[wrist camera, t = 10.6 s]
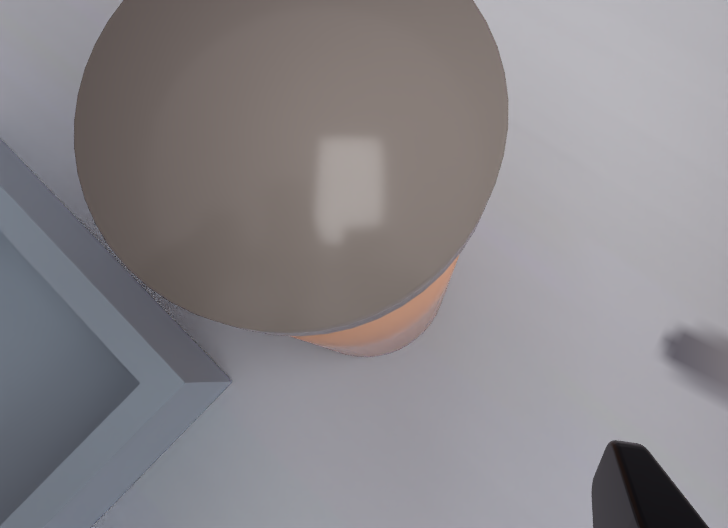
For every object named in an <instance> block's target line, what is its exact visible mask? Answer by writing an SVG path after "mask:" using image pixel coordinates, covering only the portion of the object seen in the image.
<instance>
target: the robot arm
mask: <svg viewBox="0 0 728 528" xmlns="http://www.w3.org/2000/svg"><path fill="white" fill-rule="evenodd" d="M592 512H593V528H709V527H708V526H707V525H706V523H705V522H704V521H703V519H702V518H701V517H700V516H699V514H698V513H697V512H696V511H695V509H694V508H693V507H692V505H691V504H690V503H689V502H688V500H687V499H686V498H685V497H684V495H683V494H682V493H681V491H680V490H679V489H678V488H677V486H676V485H675V484H674V483H673V481H672V480H671V479H670V477H669V476H668V475H667V474H666V472H665V471H664V470H663V469H662V467H661V466H660V465H659V463H658V462H657V461H656V460H655V458H654V457H653V456H652V455H651V453H650V452H649V451H648V450H647V449H646V448H645V447H644V446H643V445H641V444H637V443H631V442H624V441H617V440H614V441H611V442H610V443H608V445H607V447H606V449H605V451H604V454H603V456H602V458H601V461H600V463H599V466H598V468H597V471H596V473H595V476H594V478H593V483H592Z"/></svg>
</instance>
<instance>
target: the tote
mask: <svg viewBox="0 0 728 528" xmlns="http://www.w3.org/2000/svg"><path fill="white" fill-rule="evenodd" d="M231 383H232V380H231V379H230V378H229V377H228V376H227V375H226V374H225V373H224V372H223V371H222V370H221V369H220V368H219V367H218V366H217V365H216V364H215V363H214V362H213V361H212V360H211V358H210V357H209V356H208V355H207V354H206V353H205V352H204V351H203V350H202V349H201V348H200V347H199V346H198V345H197V344H196V343H195V342H194V341H193V340H192V339H191V338H190V337H189V335H188V334H187V333H186V332H185V331H184V330H183V329H182V328H181V327H180V326H179V325H178V324H177V323H176V322H175V321H174V320H173V319H172V318H171V317H170V316H169V315H168V313H167V312H166V311H165V310H164V309H163V308H162V307H161V306H160V305H159V304H158V303H157V302H156V301H155V300H154V299H153V298H152V297H151V296H150V295H149V294H148V293H147V292H146V290H145V289H144V288H143V287H142V286H141V285H140V284H139V283H138V282H137V281H136V280H135V279H134V278H133V277H132V276H131V275H130V274H129V273H128V272H127V271H126V270H125V269H124V267H123V266H122V265H121V264H120V263H119V262H118V261H117V260H116V259H115V258H114V257H113V256H112V255H111V254H110V253H109V252H108V251H107V250H106V249H105V248H104V247H103V245H102V244H101V243H100V242H99V241H98V240H97V239H96V238H95V237H94V236H93V235H92V234H91V233H90V232H89V231H88V230H87V229H86V228H85V227H84V226H83V225H82V224H81V222H80V221H79V220H78V219H77V218H76V217H75V216H74V215H73V214H72V213H71V212H70V211H69V210H68V209H67V208H66V207H65V206H64V205H63V204H62V203H61V202H60V200H59V199H58V198H57V197H56V196H55V195H54V194H53V193H52V192H51V191H50V190H49V189H48V188H47V187H46V186H45V185H44V184H43V183H42V182H41V181H40V180H39V179H38V177H37V176H36V175H35V174H34V173H33V172H32V171H31V170H30V169H29V168H28V167H27V166H26V165H25V164H24V163H23V162H22V161H21V160H20V159H19V158H18V157H17V156H16V154H15V153H14V152H13V151H12V150H11V149H10V148H9V147H8V146H7V145H6V144H5V143H4V142H3V141H2V140H1V139H0V528H91V526H92V525H93V524H94V523H95V522H96V521H97V520H98V519H99V518H100V517H101V516H102V515H103V514H104V513H105V512H106V511H107V510H108V509H109V508H110V507H111V506H112V505H113V504H114V503H115V502H116V501H117V500H118V499H119V498H120V497H121V496H122V495H123V494H124V493H125V492H126V491H127V490H128V488H129V487H130V486H131V485H132V484H133V483H134V482H135V481H136V480H137V479H138V478H139V477H140V476H141V475H142V474H143V473H144V472H145V471H146V470H147V469H148V468H149V467H150V466H151V465H152V464H153V463H154V462H155V461H156V460H157V459H158V458H159V457H160V456H161V455H162V454H163V453H164V452H165V450H166V449H167V448H168V447H169V446H170V445H171V444H172V443H173V442H174V441H175V440H176V439H177V438H178V437H179V436H180V435H181V434H182V433H183V432H184V431H185V430H186V429H187V428H188V427H189V426H190V425H191V424H192V423H193V422H194V421H195V420H196V419H197V418H198V417H199V416H200V415H201V413H202V412H203V411H204V410H205V409H206V408H207V407H208V406H209V405H210V404H211V403H212V402H213V401H214V400H215V399H216V398H217V397H218V396H219V395H220V394H221V393H222V392H223V391H224V390H225V389H226V388H227V387H228V386H229V385H230V384H231Z"/></svg>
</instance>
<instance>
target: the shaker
mask: <svg viewBox="0 0 728 528" xmlns="http://www.w3.org/2000/svg"><path fill="white" fill-rule="evenodd" d="M507 131H508V94H507V87H506V79H505V72H504V69H503V65H502V61H501V58H500V54H499V51H498V47H497V45H496V42H495V40H494V38H493V36H492V33H491V31H490V29H489V26H488V24H487V22H486V20H485V19H484V17H483V15H482V14H481V12H480V11H479V9H478V7H477V6H476V4H475V3H474V1H473V0H123V2H122V3H121V4H120V6H119V7H118V8H117V10H116V11H115V13H114V14H113V15H112V17H111V18H110V19H109V21H108V22H107V24H106V26H105V28H104V29H103V31H102V33H101V35H100V36H99V38H98V40H97V42H96V43H95V46H94V48H93V50H92V53H91V55H90V58H89V60H88V63H87V65H86V67H85V70H84V74H83V78H82V81H81V85H80V89H79V92H78V98H77V105H76V112H75V119H74V149H75V157H76V164H77V172H78V176H79V180H80V184H81V187H82V191H83V194H84V198H85V201H86V203H87V205H88V208H89V210H90V212H91V215H92V217H93V219H94V221H95V224H96V225H97V227H98V229H99V230H100V232H101V233H102V235H103V237H104V238H105V240H106V242H107V243H108V245H109V246H110V248H111V249H112V250H113V251H114V253H115V254H116V255H117V256H118V257H119V259H120V260H121V261H122V262H123V263H124V265H125V266H126V267H127V268H128V269H129V270H130V271H131V272H132V273H133V274H135V275H136V276H137V277H138V278H139V279H140V280H141V281H142V282H143V283H145V284H146V285H147V286H148V287H149V288H151V289H152V290H154V291H155V292H157V293H158V294H160V295H161V296H163V297H164V298H166V299H167V300H169V301H170V302H172V303H174V304H176V305H178V306H180V307H182V308H184V309H186V310H188V311H190V312H192V313H194V314H196V315H199V316H202V317H205V318H208V319H211V320H214V321H217V322H220V323H223V324H227V325H230V326H234V327H237V328H241V329H245V330H248V331H254V332H259V333H265V334H270V335H281V336H291V337H294V338H297V339H300V340H303V341H306V342H309V343H312V344H315V345H318V346H321V347H324V348H327V349H330V350H333V351H336V352H339V353H342V354H345V355H351V356H356V357H373V356H380V355H385V354H389V353H391V352H394V351H397V350H399V349H401V348H403V347H405V346H407V345H408V344H410V343H411V342H413V341H414V340H415V339H417V338H418V337H419V336H420V335H421V334H422V333H423V332H424V331H425V330H426V329H427V327H428V326H429V325H430V324H431V322H432V321H433V319H434V317H435V316H436V314H437V312H438V310H439V308H440V305H441V303H442V300H443V297H444V295H445V292H446V289H447V287H448V284H449V281H450V278H451V276H452V273H453V270H454V268H455V265H456V262H457V260H458V257H459V254H460V253H461V252H462V250H463V248H464V247H465V245H466V244H467V242H468V240H469V239H470V237H471V236H472V234H473V233H474V231H475V229H476V227H477V224H478V222H479V220H480V218H481V216H482V214H483V211H484V209H485V207H486V205H487V202H488V200H489V197H490V195H491V193H492V190H493V188H494V186H495V183H496V180H497V176H498V173H499V170H500V166H501V163H502V160H503V156H504V150H505V144H506V137H507Z"/></svg>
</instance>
